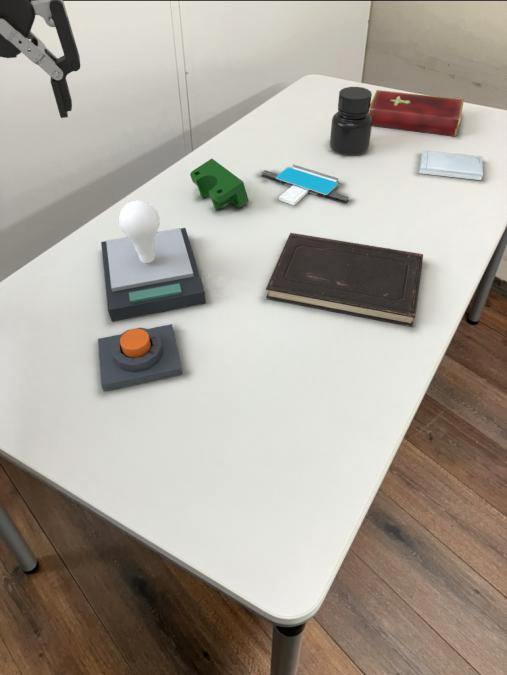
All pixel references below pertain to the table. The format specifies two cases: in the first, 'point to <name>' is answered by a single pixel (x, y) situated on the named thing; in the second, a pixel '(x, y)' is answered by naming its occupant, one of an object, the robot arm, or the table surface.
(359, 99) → the ink bottle
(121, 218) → the lightbulb
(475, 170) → the hard drive
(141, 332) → the button
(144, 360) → the control unit
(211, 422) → the table surface
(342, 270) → the hardcover book
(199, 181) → the clamp
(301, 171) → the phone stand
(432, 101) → the hardcover book
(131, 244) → the scale
